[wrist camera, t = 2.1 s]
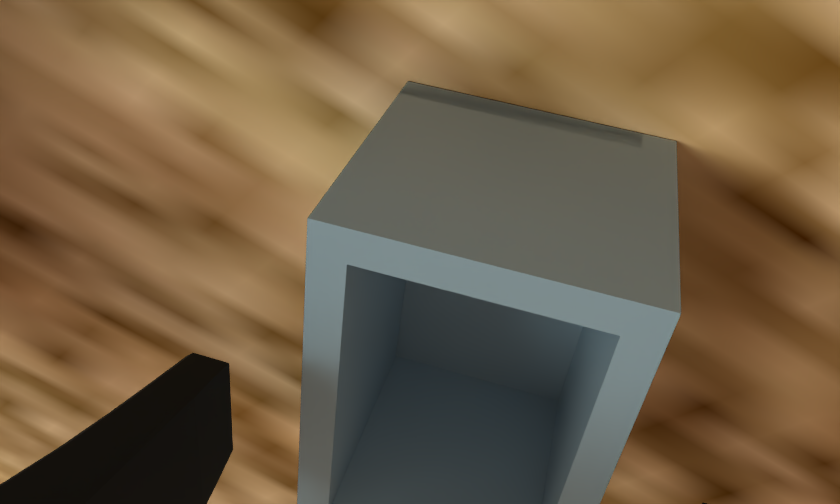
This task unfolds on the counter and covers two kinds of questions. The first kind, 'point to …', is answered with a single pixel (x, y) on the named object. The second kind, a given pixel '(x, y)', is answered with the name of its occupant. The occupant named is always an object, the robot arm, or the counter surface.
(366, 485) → the small crate
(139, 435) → the robot arm
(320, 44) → the counter surface
